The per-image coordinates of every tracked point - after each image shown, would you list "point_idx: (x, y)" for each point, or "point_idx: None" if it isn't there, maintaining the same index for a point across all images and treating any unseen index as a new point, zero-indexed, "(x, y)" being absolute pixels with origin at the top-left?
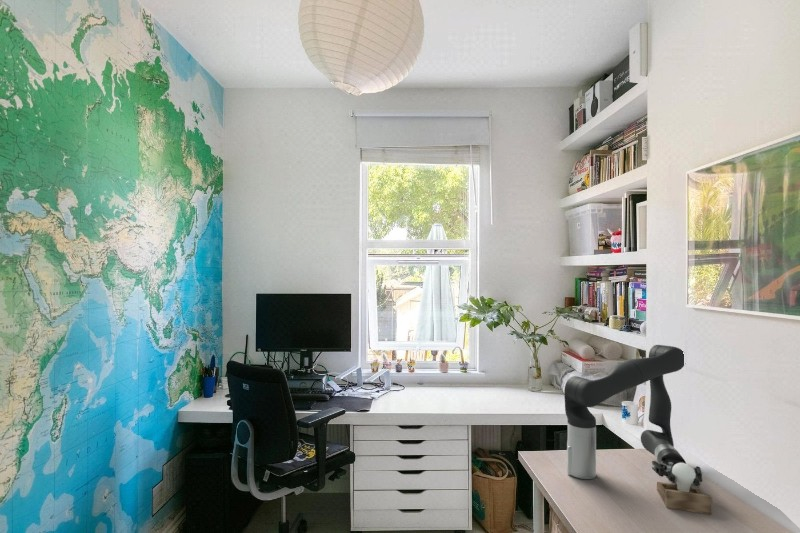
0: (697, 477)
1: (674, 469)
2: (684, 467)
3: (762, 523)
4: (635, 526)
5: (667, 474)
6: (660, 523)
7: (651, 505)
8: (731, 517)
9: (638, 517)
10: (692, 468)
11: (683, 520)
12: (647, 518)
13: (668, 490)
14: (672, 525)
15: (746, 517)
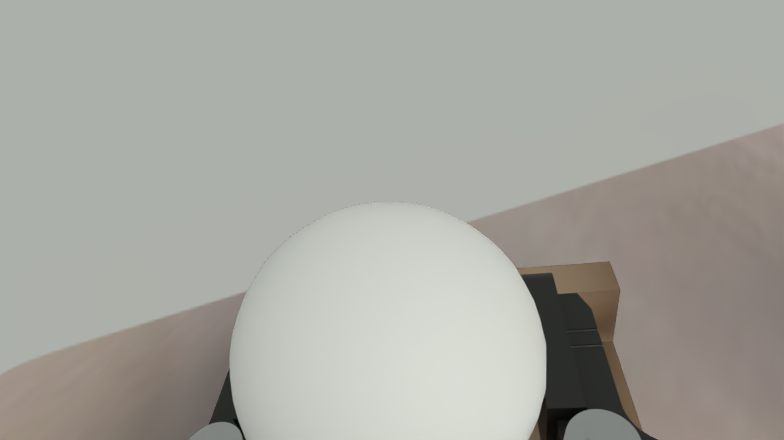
0: (226, 385)
1: (516, 270)
2: (382, 203)
3: (46, 376)
4: (742, 136)
5: (610, 384)
6: (629, 191)
7: (713, 353)
8: (186, 383)
9: (754, 196)
10: (250, 286)
11: (505, 253)
12: (703, 204)
13: (592, 272)
14: (569, 196)
15: (79, 418)
